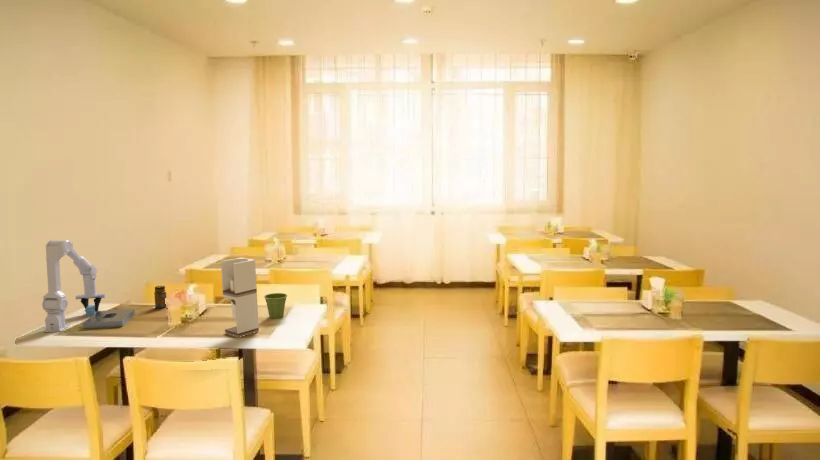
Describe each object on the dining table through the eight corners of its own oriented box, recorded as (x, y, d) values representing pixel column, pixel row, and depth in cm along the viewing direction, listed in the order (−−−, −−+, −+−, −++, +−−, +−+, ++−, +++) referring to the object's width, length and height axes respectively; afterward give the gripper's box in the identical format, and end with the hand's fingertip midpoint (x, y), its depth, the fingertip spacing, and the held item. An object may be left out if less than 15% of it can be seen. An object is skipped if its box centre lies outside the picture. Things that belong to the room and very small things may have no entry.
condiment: (165, 305, 338) (164, 284, 336) (170, 308, 331) (169, 287, 329) (152, 307, 333) (150, 286, 331) (157, 310, 326) (155, 289, 325)
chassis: (122, 326, 298) (122, 320, 298) (83, 329, 295) (83, 323, 295) (134, 314, 319) (134, 309, 319) (98, 316, 316) (98, 311, 316)
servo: (93, 316, 316) (92, 308, 316) (84, 317, 316) (84, 309, 315) (100, 311, 327) (99, 303, 327) (92, 311, 327) (91, 303, 326)
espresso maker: (245, 327, 293) (241, 257, 288) (258, 331, 286) (255, 259, 281) (225, 333, 284) (220, 261, 279) (238, 337, 278) (234, 263, 273)
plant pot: (275, 321, 303) (274, 299, 302) (260, 317, 310) (259, 296, 309) (293, 315, 312) (292, 294, 311) (278, 312, 320) (277, 291, 318)
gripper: (107, 284, 324) (109, 308, 326) (78, 285, 322) (80, 310, 324) (102, 287, 318) (104, 312, 319) (73, 288, 315) (75, 313, 317)
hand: (92, 311), depth 321 cm, fingers closed on servo, 4 cm apart
